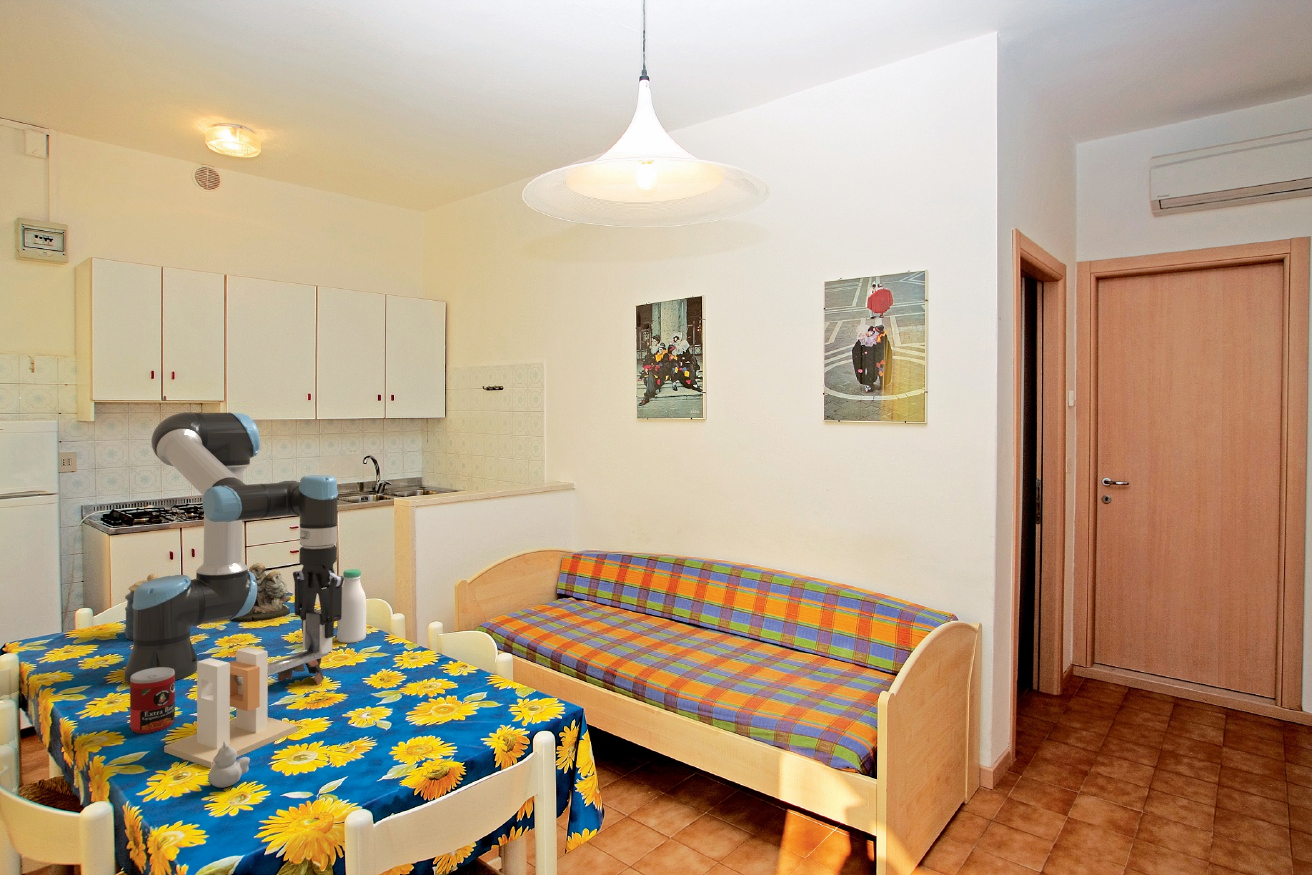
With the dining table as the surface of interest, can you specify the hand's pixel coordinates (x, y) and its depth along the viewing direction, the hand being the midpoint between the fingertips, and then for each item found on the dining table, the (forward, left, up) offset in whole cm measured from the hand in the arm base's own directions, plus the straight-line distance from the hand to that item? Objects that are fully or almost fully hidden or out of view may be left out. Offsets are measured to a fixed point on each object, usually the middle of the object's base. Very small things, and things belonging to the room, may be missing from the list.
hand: (317, 649), depth 163 cm
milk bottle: (-32, +38, -13) cm, 52 cm away
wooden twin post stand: (0, -20, -13) cm, 23 cm away
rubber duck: (+15, -31, -13) cm, 37 cm away
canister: (-85, +14, -13) cm, 87 cm away
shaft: (0, -8, -2) cm, 8 cm away
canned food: (-21, -23, -13) cm, 33 cm away
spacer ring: (0, -18, -6) cm, 19 cm away
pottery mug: (-16, +9, -13) cm, 23 cm away
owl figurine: (-76, +41, -13) cm, 87 cm away
